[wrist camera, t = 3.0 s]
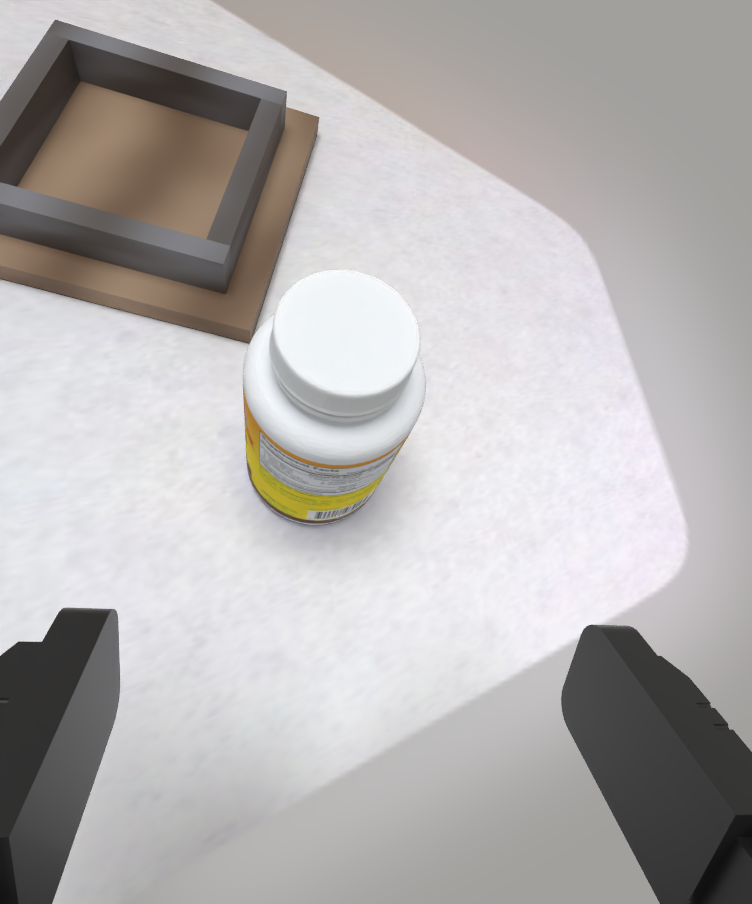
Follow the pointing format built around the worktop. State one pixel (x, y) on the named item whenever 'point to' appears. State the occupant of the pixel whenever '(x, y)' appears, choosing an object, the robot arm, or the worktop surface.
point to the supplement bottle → (330, 394)
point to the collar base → (147, 181)
